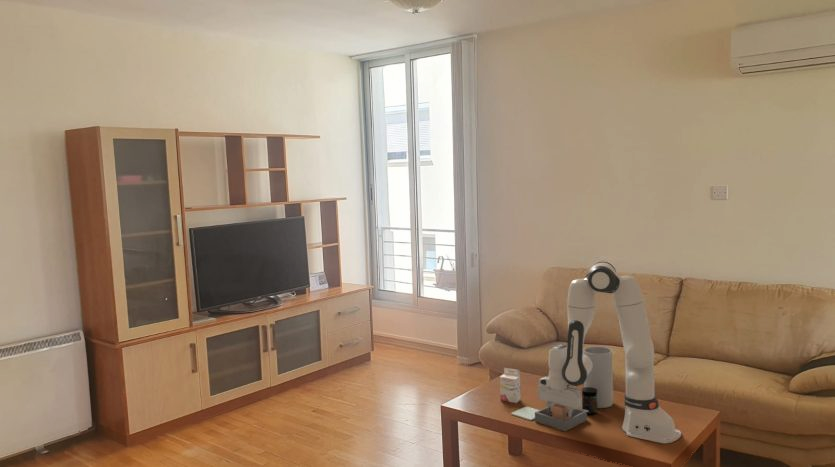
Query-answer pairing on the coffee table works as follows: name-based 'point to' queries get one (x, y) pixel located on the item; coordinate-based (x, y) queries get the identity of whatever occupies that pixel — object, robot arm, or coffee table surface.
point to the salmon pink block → (560, 412)
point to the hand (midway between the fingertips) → (559, 413)
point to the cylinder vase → (601, 375)
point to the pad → (525, 413)
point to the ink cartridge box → (510, 386)
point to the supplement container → (589, 400)
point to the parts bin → (545, 418)
